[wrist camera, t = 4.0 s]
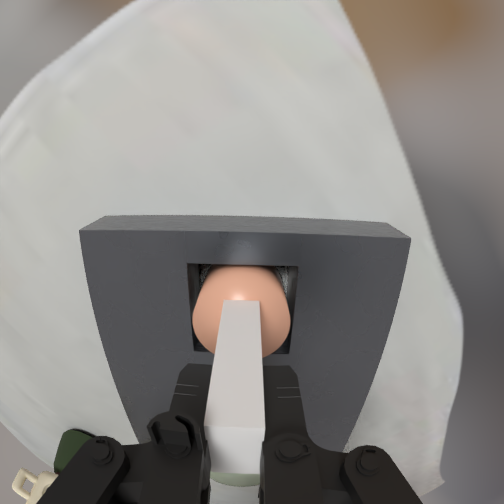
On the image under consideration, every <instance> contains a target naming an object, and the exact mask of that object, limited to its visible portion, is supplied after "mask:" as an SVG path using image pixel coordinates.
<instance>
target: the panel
mask: <svg viewBox="0 0 504 504" xmlns="http://www.w3.org/2000/svg"><path fill="white" fill-rule="evenodd" d="M79 234H80V242H81V249H82V255H83V261H84V267H85V272H86V278H87V283H88V288H89V293H90V297H91V302H92V306H93V310H94V314H95V318H96V322H97V326H98V330H99V334H100V337H101V341H102V344H103V348H104V351H105V354H106V358H107V361H108V364H109V367H110V370H111V373H112V376H113V379H114V382H115V385H116V388H117V390H118V393H119V396H120V398H121V401H122V404H123V406H124V409H125V411H126V414H127V416H128V419H129V421H130V423H131V426H132V428H133V430H134V433H135V435H136V437H137V439H138V442H139V444H143V443H148V442H150V441H152V440H151V437H150V435H149V432H148V430H147V425H148V423H149V422H150V420H151V419H152V418H154V417H155V416H156V415H158V414H161V413H164V412H167V411H169V409H170V405H171V401H172V398H173V395H174V390H175V387H176V385H177V380H178V376H179V373H180V371H181V370H182V369H183V368H184V367H185V366H186V365H187V364H188V363H193V364H208V365H213V362H214V355H215V354H213V353H212V352H210V351H209V350H208V349H206V348H205V347H204V346H203V345H202V343H201V342H200V341H199V339H198V338H197V336H196V334H195V331H194V328H193V312H194V309H195V306H196V303H197V300H198V297H199V294H200V283H199V264H232V265H272V266H289V272H288V284H287V296H286V300H287V305H288V310H289V314H290V329H289V333H288V335H287V337H286V339H285V341H284V342H283V344H282V345H281V346H280V347H279V348H278V349H277V350H276V351H274V352H273V353H271V354H270V355H268V356H266V357H264V358H262V366H284V365H290V367H291V368H292V369H293V370H294V372H295V373H296V374H297V377H298V382H299V389H300V394H301V399H302V405H303V411H304V416H305V422H306V428H307V432H308V435H309V437H310V439H311V440H312V441H313V442H314V443H315V444H316V445H317V446H319V447H321V448H323V449H327V450H330V451H336V452H342V451H343V449H344V447H345V445H346V443H347V441H348V439H349V436H350V434H351V432H352V430H353V428H354V426H355V423H356V421H357V419H358V416H359V414H360V412H361V409H362V407H363V405H364V402H365V400H366V397H367V395H368V392H369V390H370V387H371V384H372V382H373V379H374V376H375V374H376V371H377V368H378V365H379V362H380V359H381V356H382V353H383V350H384V347H385V344H386V341H387V338H388V334H389V331H390V328H391V324H392V321H393V317H394V314H395V310H396V306H397V302H398V298H399V294H400V290H401V286H402V282H403V278H404V273H405V268H406V264H407V259H408V254H409V248H410V243H411V238H410V237H408V236H407V235H405V234H404V233H402V232H400V231H399V230H397V229H396V228H394V227H392V226H391V225H389V224H388V223H382V222H366V221H349V220H331V219H309V218H284V217H252V216H196V215H135V216H104V217H102V218H100V219H99V220H97V221H95V222H93V223H91V224H89V225H87V226H86V227H84V228H82V229H80V230H79Z"/></svg>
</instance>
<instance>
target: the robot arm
mask: <svg viewBox="0 0 504 504" xmlns="http://www.w3.org/2000/svg"><path fill="white" fill-rule="evenodd" d="M147 430H148V432H149V435H150V437H151V440H152V441H150V442H148V443H143V444H135V445H121V444H120V443H119V442H118V441H116V440H115V439H114V438H110V437H107V436H96V437H93V438H91V439H89V440H87V441H86V442H85V443H84V444H83V445H82V446H81V447H80V449H79V450H78V451H77V452H76V454H75V455H74V456H73V457H72V459H71V460H70V461H69V463H68V464H67V465H66V466H65V468H64V469H63V470H62V471H61V473H60V474H59V475H58V476H57V478H56V479H55V480H54V481H53V483H52V484H51V485H50V487H49V488H48V489H47V490H46V492H45V493H44V494H43V495H42V497H41V498H40V499H39V501H38V502H37V503H36V504H209V502H210V491H211V486H210V471H211V472H218V473H238V474H260V487H259V494H258V498H259V504H423V503H422V502H421V501H420V499H419V498H418V496H417V495H416V493H415V492H414V490H413V489H412V488H411V486H410V485H409V483H408V482H407V480H406V479H405V477H404V476H403V475H402V473H401V472H400V470H399V469H398V467H397V466H396V464H395V463H394V462H393V460H392V459H391V457H390V456H389V455H388V454H387V453H386V452H385V451H384V450H383V449H381V448H379V447H376V446H370V445H365V446H360V447H357V448H355V449H353V450H352V451H350V452H349V453H343V452H336V451H330V450H327V449H323V448H321V447H319V446H317V445H316V444H315V443H314V442H313V441H312V440H311V439H310V437H309V435H308V432H307V428H306V422H305V416H304V411H303V405H302V399H301V394H300V389H299V382H298V377H297V374H296V373H295V372H294V370H293V369H292V368H291V367H290V365H284V366H262V346H261V325H260V304H259V301H248V300H224V302H223V307H222V313H221V319H220V325H219V331H218V337H217V343H216V349H215V355H214V362H213V365H208V364H193V363H188V364H187V365H186V366H185V367H184V368H183V369H182V370H181V371H180V373H179V376H178V380H177V385H176V387H175V390H174V395H173V398H172V401H171V405H170V409H169V411H167V412H164V413H161V414H158V415H156V416H155V417H154V418H152V419H151V420H150V422H149V423H148V425H147Z"/></svg>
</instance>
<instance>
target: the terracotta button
mask: <svg viewBox="0 0 504 504" xmlns="http://www.w3.org/2000/svg"><path fill="white" fill-rule="evenodd" d="M224 300H248V301H259V304H260V325H261V346H262V358H264V357H266V356H268V355H270V354H271V353H273V352H274V351H276V350H277V349H278V348H279V347H280V346H281V345H282V344H283V342H284V341H285V339H286V337H287V335H288V333H289V329H290V314H289V310H288V305H287V300H286V296H285V291H284V287H283V282H282V279H281V276H280V274H279V272H278V270H277V269H276V267H275V266H272V265H232V264H213V265H212V266H211V267H210V268H209V270H208V272H207V274H206V276H205V279H204V282H203V285H202V288H201V291H200V294H199V297H198V300H197V303H196V306H195V309H194V312H193V328H194V331H195V334H196V336H197V338H198V339H199V341H200V342H201V343H202V345H203V346H204V347H205V348H206V349H208V350H209V351H210V352H212V353H213V354H215V349H216V343H217V337H218V331H219V325H220V319H221V313H222V307H223V302H224Z"/></svg>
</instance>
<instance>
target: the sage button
mask: <svg viewBox="0 0 504 504" xmlns="http://www.w3.org/2000/svg"><path fill="white" fill-rule="evenodd" d="M210 478H211V479H213V480H214V481H216V482H219V483H221V484H225V485H229V486H238V487H246V486H255V485H259V484H260V474H238V473H218V472H211V471H210Z"/></svg>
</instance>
